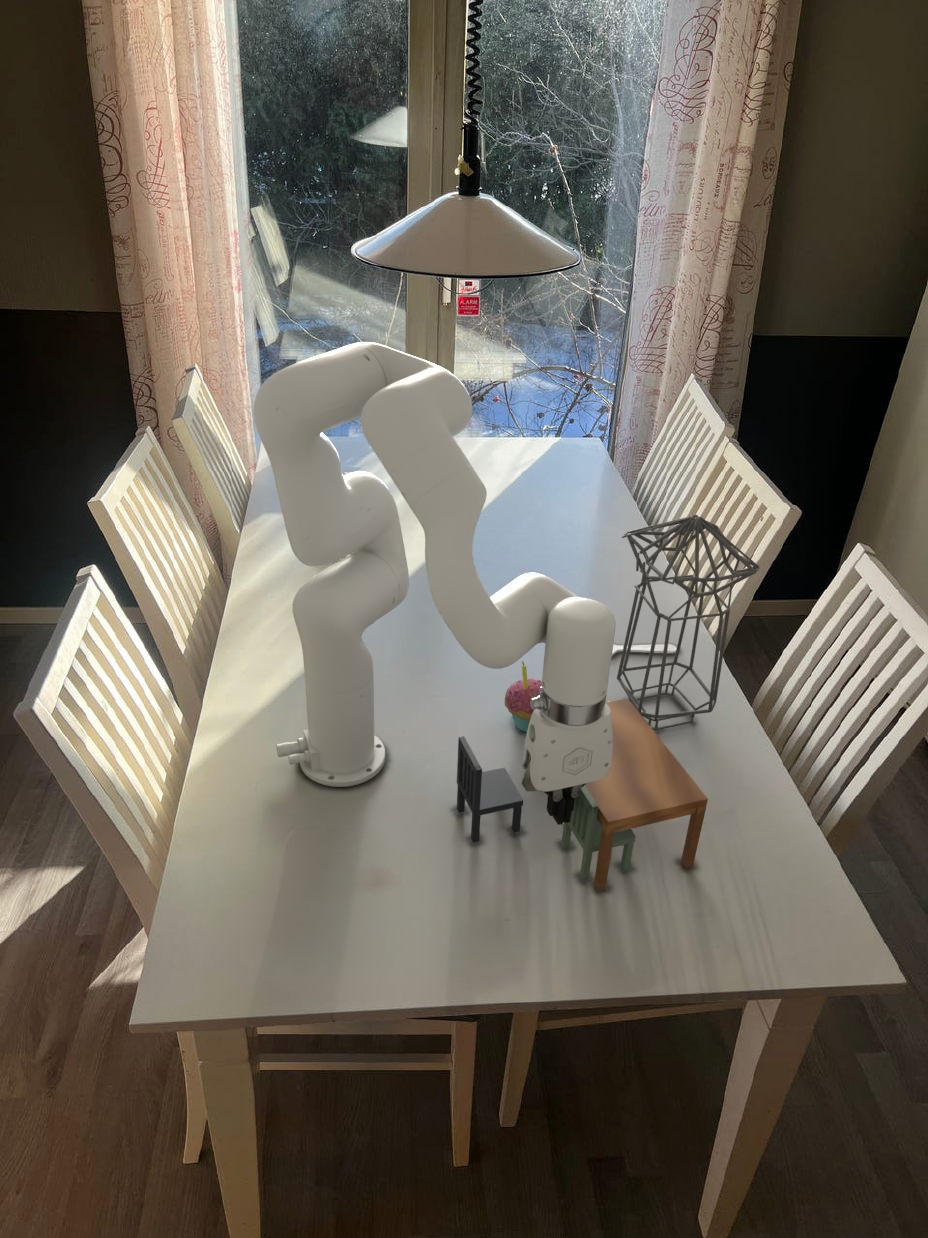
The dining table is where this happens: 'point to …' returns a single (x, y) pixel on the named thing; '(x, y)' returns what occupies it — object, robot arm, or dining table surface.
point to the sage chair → (593, 832)
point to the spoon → (645, 648)
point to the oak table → (642, 787)
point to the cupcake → (522, 699)
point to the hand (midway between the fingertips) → (559, 816)
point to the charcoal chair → (484, 790)
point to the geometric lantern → (685, 529)
